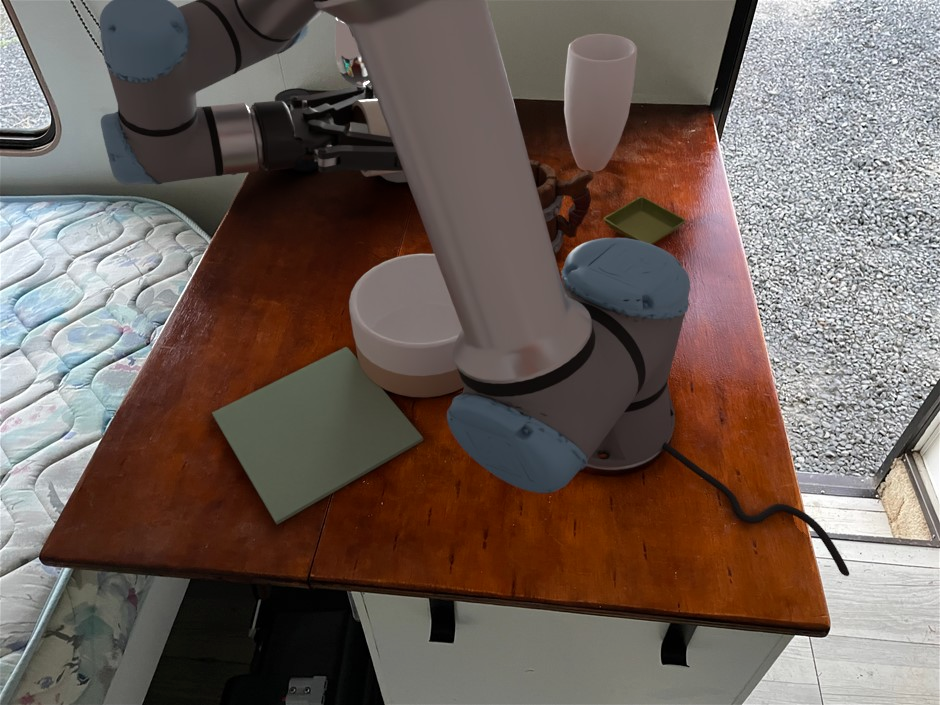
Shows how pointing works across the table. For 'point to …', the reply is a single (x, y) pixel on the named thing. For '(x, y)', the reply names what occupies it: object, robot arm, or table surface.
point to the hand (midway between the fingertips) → (438, 120)
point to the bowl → (406, 327)
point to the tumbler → (369, 125)
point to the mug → (552, 201)
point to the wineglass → (349, 56)
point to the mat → (314, 432)
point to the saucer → (644, 221)
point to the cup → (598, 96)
